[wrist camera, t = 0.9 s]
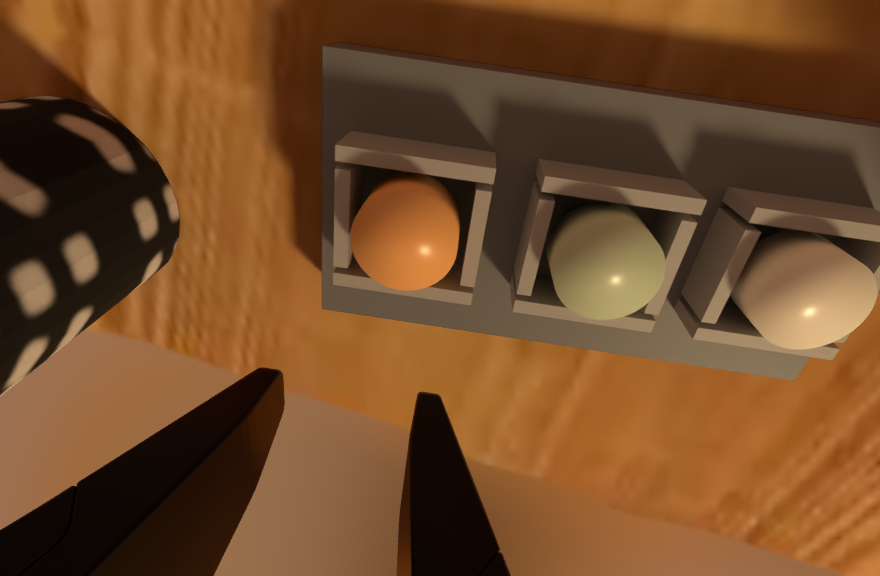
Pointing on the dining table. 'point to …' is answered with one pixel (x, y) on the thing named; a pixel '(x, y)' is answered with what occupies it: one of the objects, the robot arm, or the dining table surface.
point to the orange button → (407, 232)
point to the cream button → (803, 290)
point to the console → (587, 197)
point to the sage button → (604, 261)
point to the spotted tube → (72, 225)
